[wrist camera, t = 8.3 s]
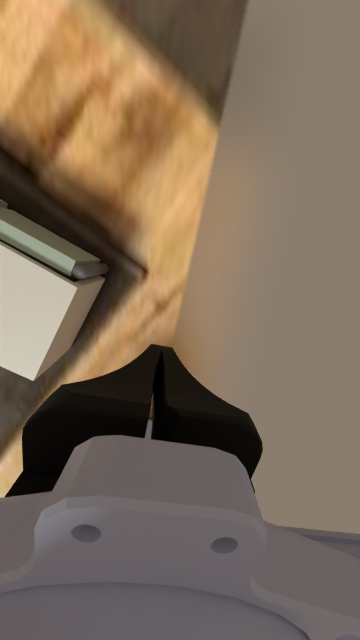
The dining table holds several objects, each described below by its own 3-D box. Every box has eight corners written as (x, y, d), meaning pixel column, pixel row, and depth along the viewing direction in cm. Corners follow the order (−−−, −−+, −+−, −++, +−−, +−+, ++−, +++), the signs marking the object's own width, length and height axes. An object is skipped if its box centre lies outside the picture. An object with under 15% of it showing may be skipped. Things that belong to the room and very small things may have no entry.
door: (105, 276, 19) (83, 283, 14) (9, 223, 17) (-53, 210, 13) (114, 257, 19) (94, 257, 14) (16, 200, 17) (-46, 178, 12)
